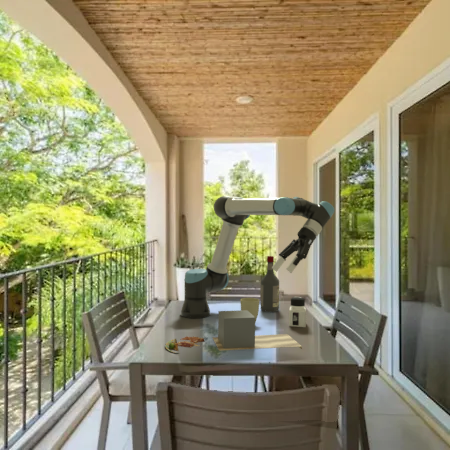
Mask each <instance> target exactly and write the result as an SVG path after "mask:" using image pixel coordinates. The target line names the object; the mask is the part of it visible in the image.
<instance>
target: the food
mask: <svg viewBox="0 0 450 450" xmlns="http://www.w3.org/2000/svg"><path fill="white" fill-rule="evenodd" d="M202 342H205V338H204V337H198V336H193V335H192V336H184V337H183V338H182V337H181V338H180V341H178V340H177V338H173V339H170V340H168V341H167V342H166V343H165V346H164V348H165V349H166V350H168V352H171V353H174V354H179V352H180V351H179V347H181V348H189V349H190V348H192V347H200V346H201V345H200V344H199V345H198V343H202ZM173 350H174V351H173ZM175 351H176V352H175Z"/></svg>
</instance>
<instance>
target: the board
mask: <svg viewBox="0 0 450 450" xmlns="http://www.w3.org/2000/svg"><path fill="white" fill-rule="evenodd" d="M212 340H213V341H214V343H215V345H216V347H217V349H218V351H220V352H221V351H236V350H237V351H238V350H239V351H241V350H256V349H257V350H259V349H260V350H261V349H275V348H277V349H278V348H296V347H297V348H299V349H300V350H303V346H302V345H301V344H300V343H299V342H298V341H296V340H295V339H294V338H293V337H292V336H290V335H289V334H288V333H283V334H282V333H281V334H261V335H260V334H259V335H255V347H242V348H223V347H222V345H221V343H220V341H219V339H218V336H216V337H212Z"/></svg>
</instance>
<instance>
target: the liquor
mask: <svg viewBox="0 0 450 450" xmlns="http://www.w3.org/2000/svg"><path fill="white" fill-rule="evenodd" d="M274 257H275V256H274V255H268V256H266V262H267V266H266V267H267V271H266V274H265V275H264V276H263V277H262V278H261V280H260V311H262V312H265V313H277V312H278V311H279V310H280V280H279V278H278V277H277V276H276V275H275V271H274V269H272V267H273V265H274V263H275V262H274V260H275V259H274Z"/></svg>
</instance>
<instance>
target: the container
mask: <svg viewBox="0 0 450 450" xmlns="http://www.w3.org/2000/svg"><path fill="white" fill-rule="evenodd" d="M305 300H306V299H305V298H303V297H300V296H293V297H291V298H290V306H289V310H288V311H289V312H288V327H295V328H296V327H297V328H307V327H306V325H307V316H306V315H307V308H306V305H305V303H306V301H305Z"/></svg>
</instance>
